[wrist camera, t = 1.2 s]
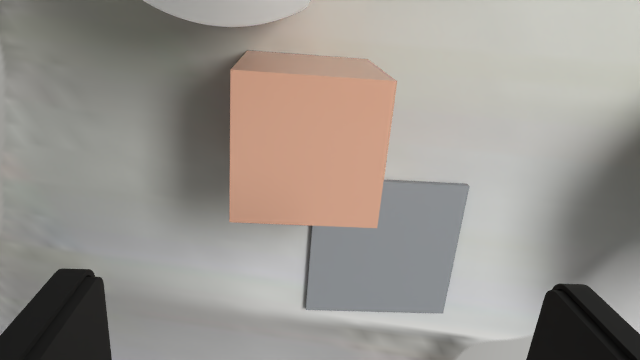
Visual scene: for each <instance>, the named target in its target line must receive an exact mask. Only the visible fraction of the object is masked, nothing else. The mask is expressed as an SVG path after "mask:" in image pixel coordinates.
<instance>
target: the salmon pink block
mask: <svg viewBox="0 0 640 360" xmlns="http://www.w3.org/2000/svg"><path fill="white" fill-rule="evenodd" d="M396 85H397V81H396V80H395V79H394V78H392V77H391V76H390V75H388V74H387V73H386V72H384V71H383V70H382V69H380V68H379V67H378V66H376V65H375V64H374V63H372V62H371V61H370V60H368V59H359V58H345V57H331V56H318V55H304V54H290V53H276V52H262V51H248V50H247V51H246V53H245V54H244V55H243V56H242V57H241V58H240V59H239V61H238V62H237V63H236V64H235V65H234V66H233V67H232V68H231V70H230V220H229V222H238V223H262V224H286V225H311V226H335V227H359V228H377V226H378V219H379V211H380V204H381V197H382V189H383V182H384V174H385V167H386V159H387V152H388V145H389V137H390V130H391V122H392V115H393V108H394V100H395V93H396Z"/></svg>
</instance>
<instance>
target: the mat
mask: <svg viewBox="0 0 640 360" xmlns="http://www.w3.org/2000/svg"><path fill="white" fill-rule="evenodd" d="M468 190H469V185H468V184H458V183H439V182H419V181H399V180H384V182H383V189H382V197H381V204H380V211H379V219H378V226H377V228H359V227H335V226H312V233H311V246H310V259H309V272H308V284H307V297H306V310H335V311H373V312H411V313H443V311H444V306H445V301H446V296H447V291H448V286H449V282H450V277H451V272H452V267H453V262H454V258H455V253H456V248H457V243H458V238H459V233H460V229H461V224H462V219H463V214H464V209H465V205H466V200H467V195H468Z"/></svg>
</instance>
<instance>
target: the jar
mask: <svg viewBox="0 0 640 360" xmlns="http://www.w3.org/2000/svg"><path fill="white" fill-rule="evenodd" d="M143 1H144V2H146V3H148V4H149V5H151V6H153V7H155V8H157V9H159V10H161V11H163V12H166V13H168V14H170V15H173V16H176V17H178V18H181V19H184V20H188V21H191V22H195V23H200V24H205V25H211V26H220V27H246V26H255V25H261V24H266V23H270V22H274V21H277V20H280V19H283V18H286V17H289V16H291V15H294V14H296V13H298V12H300V11H302V10H304V9H306V8H307V6H308V4H309V2H310V1H311V0H143Z"/></svg>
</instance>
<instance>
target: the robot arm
mask: <svg viewBox="0 0 640 360" xmlns="http://www.w3.org/2000/svg"><path fill="white" fill-rule="evenodd" d="M0 360H112V359H111V349H110V340H109V330H108V321H107V311H106V302H105V292H104V284H103V280H102V278H101V277H95V275H94V273H93V271H92V270H90V269H59V270H58V271H57V272H56V273H55V274H54V275H53V276H52V277H51V278H50V279H49V281H48V282H47V283H46V284H45V285H44V286H43V287H42V289H41V290H40V291H39V292H38V293H37V294H36V295H35V297H34V298H33V299H32V300H31V301H30V302H29V303H28V305H27V306H26V307H25V308H24V309H23V310H22V311H21V313H20V314H19V315H18V316H17V317H16V318H15V319H14V321H13V322H12V323H11V324H10V325H9V326H8V327H7V329H6V330H5V331H4V332H3V333H2V334H1V335H0ZM526 360H640V334H639V333H638V332H637V331H636V330H635V329H634V328H632V327H631V326H630V325H629V324H628V323H627V322H626V321H625V320H624V319H623V318H622V317H621V316H620V315H619V314H618V313H616V312H615V311H614V310H613V309H612V308H611V307H610V306H609V305H608V304H607V303H606V302H605V301H604V300H603V299H602V298H601V297H599V296H598V295H597V294H596V293H595V292H594V291H593V290H592V289H591V288H590V287H588V286H587V285H582V284H557V285H555V286H554V287H553V289H552V290H550V291H548V292H547V293H546V295H545V298H544V301H543V305H542V308H541V311H540V315H539V318H538V322H537V325H536V329H535V332H534V335H533V339H532V342H531V346H530V349H529V353H528V356H527V359H526Z"/></svg>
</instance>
